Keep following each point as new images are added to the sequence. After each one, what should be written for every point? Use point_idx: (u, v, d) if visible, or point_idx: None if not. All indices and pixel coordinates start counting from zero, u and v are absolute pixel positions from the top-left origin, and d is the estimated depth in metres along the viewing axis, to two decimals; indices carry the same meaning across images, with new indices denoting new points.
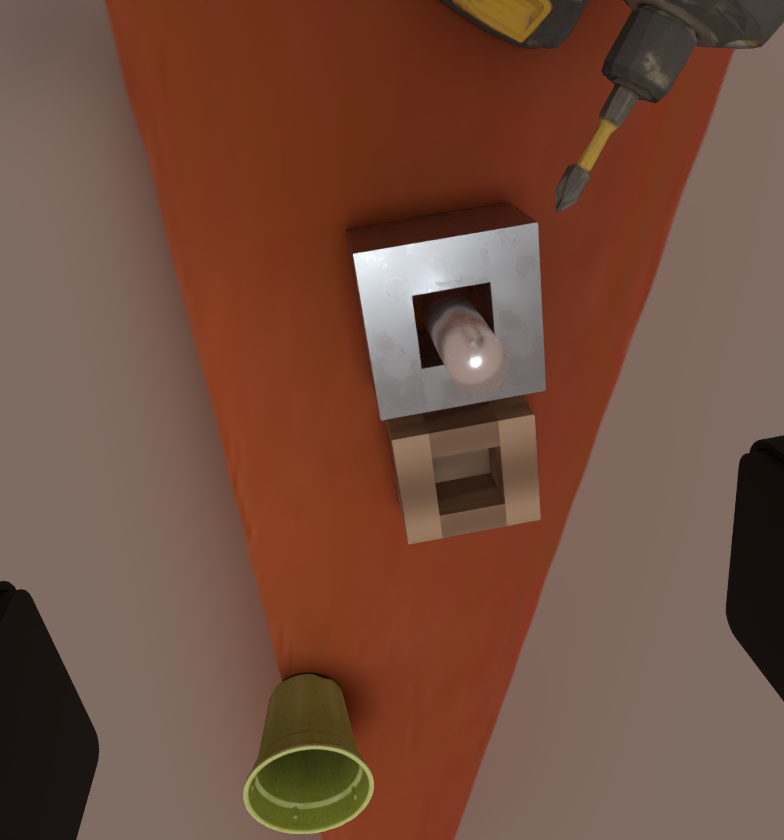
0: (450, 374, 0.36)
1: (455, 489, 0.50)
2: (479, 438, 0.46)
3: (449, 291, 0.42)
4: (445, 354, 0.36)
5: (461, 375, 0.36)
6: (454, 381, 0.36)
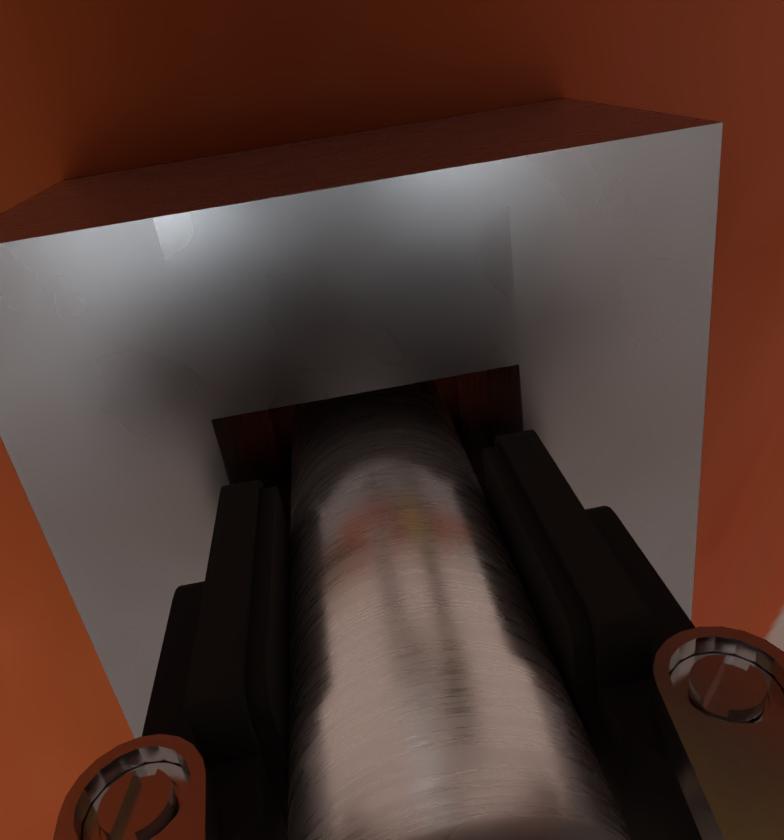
0: None
1: None
2: None
3: None
4: (288, 805, 0.07)
5: None
6: None
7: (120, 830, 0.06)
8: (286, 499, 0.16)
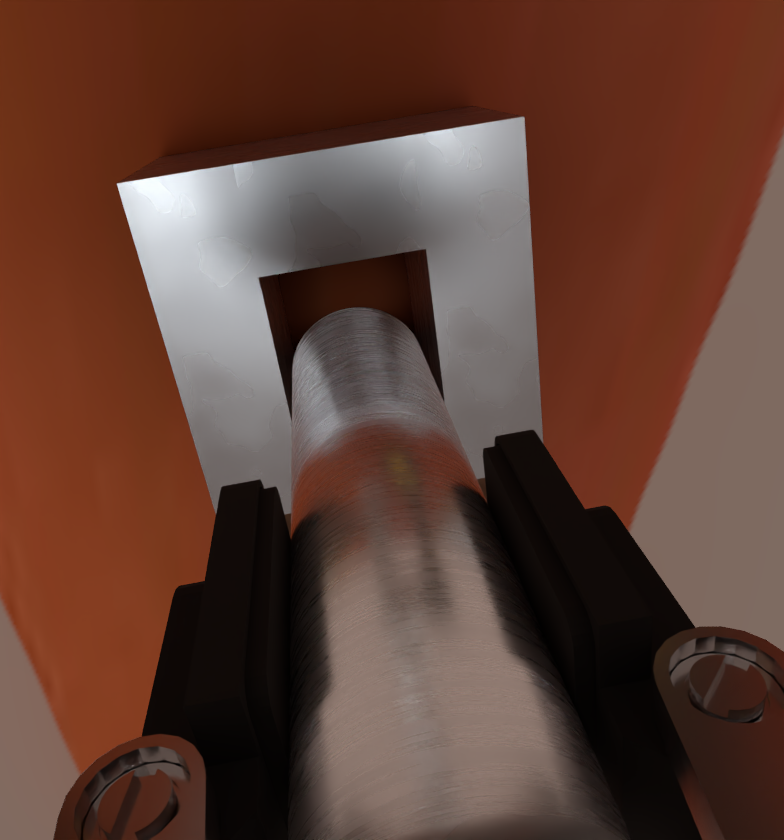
0: None
1: None
2: None
3: (373, 385, 0.12)
4: (289, 804, 0.07)
5: None
6: None
7: (120, 830, 0.06)
8: None
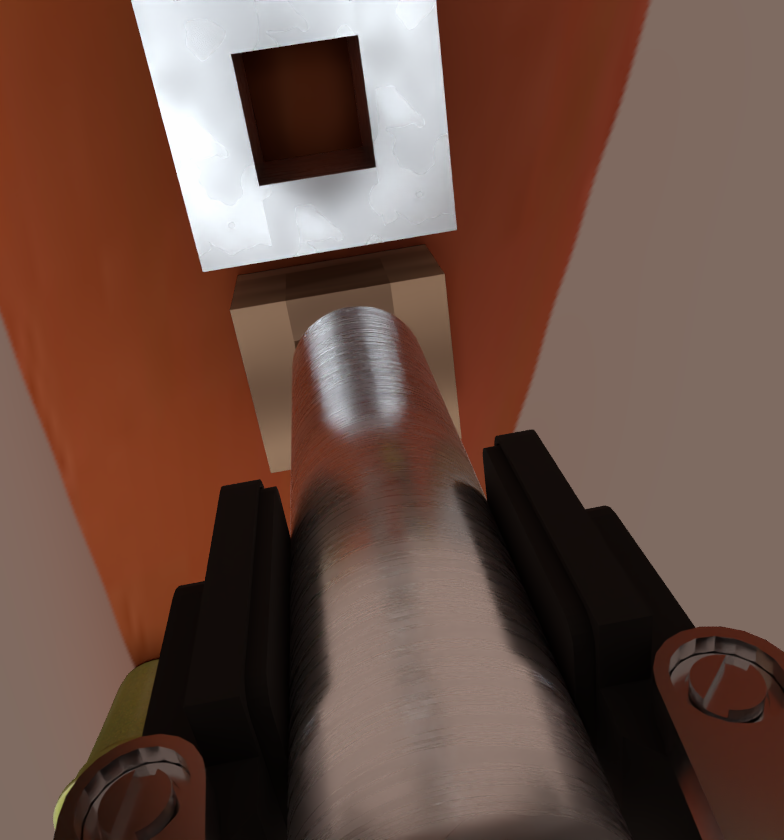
0: None
1: None
2: None
3: (373, 383, 0.12)
4: (288, 804, 0.07)
5: None
6: None
7: (120, 830, 0.06)
8: (265, 166, 0.31)
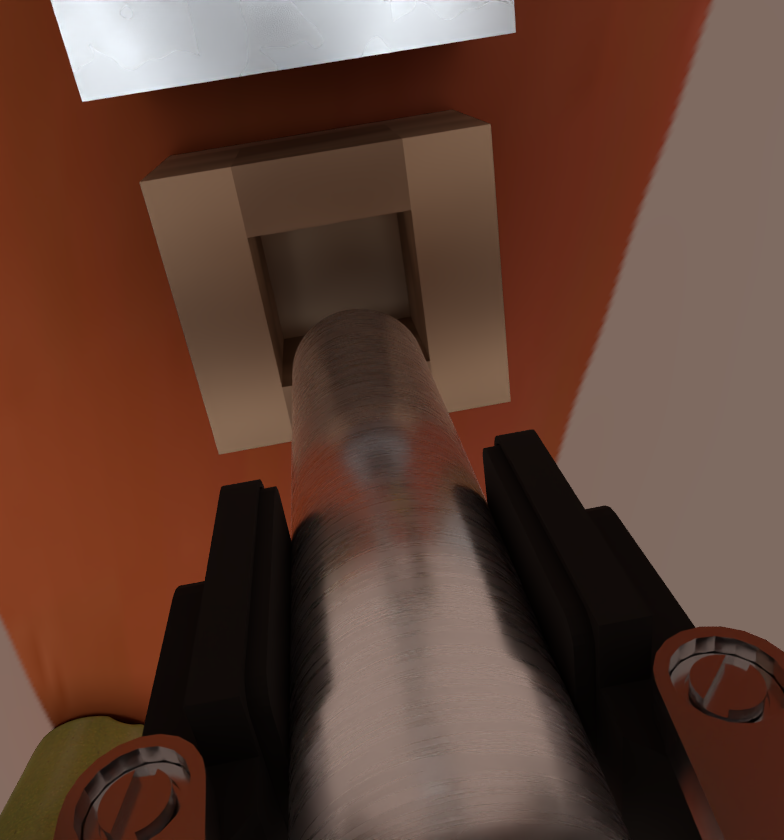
0: None
1: None
2: (358, 187, 0.19)
3: (374, 387, 0.12)
4: (289, 811, 0.07)
5: None
6: None
7: (120, 830, 0.06)
8: None
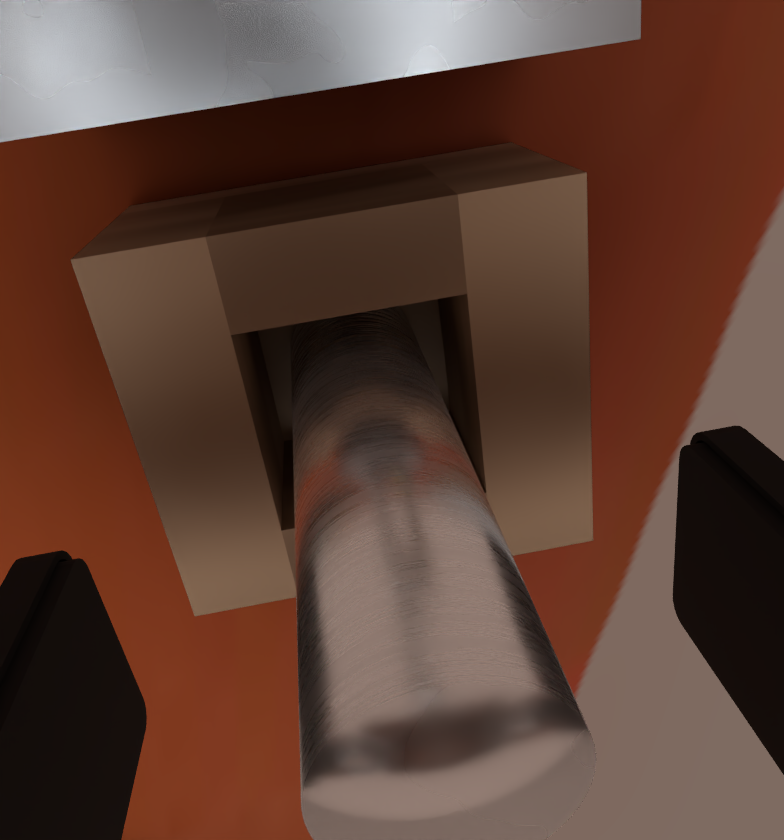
0: (312, 825, 0.07)
1: None
2: (393, 263, 0.13)
3: (367, 355, 0.13)
4: (300, 695, 0.08)
5: (365, 826, 0.07)
6: None
7: None
8: None
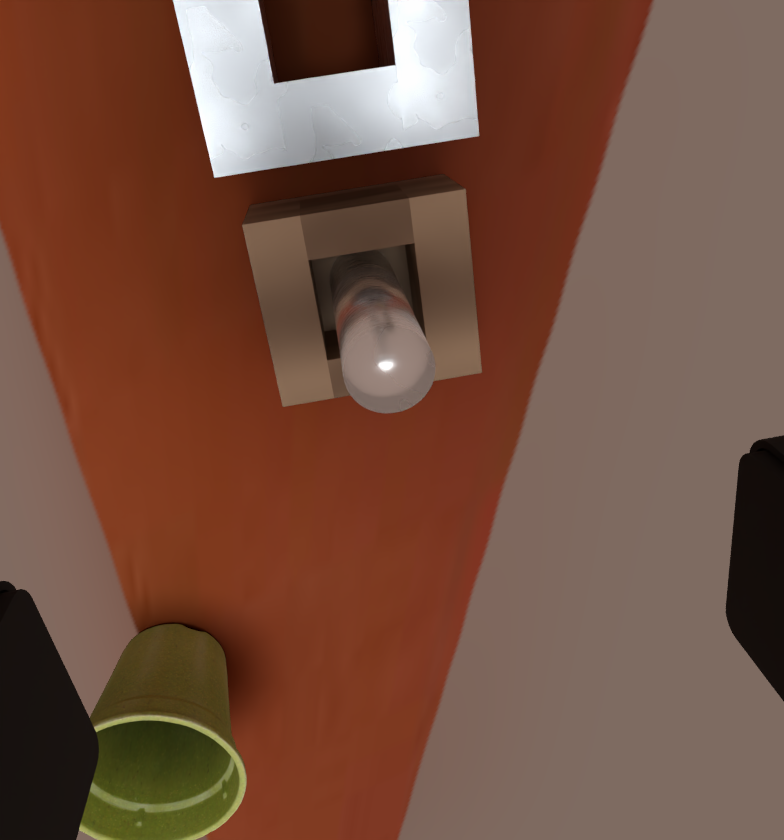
0: (345, 382, 0.23)
1: None
2: (380, 228, 0.29)
3: (367, 267, 0.30)
4: (341, 352, 0.24)
5: (362, 383, 0.24)
6: (352, 391, 0.24)
7: None
8: None
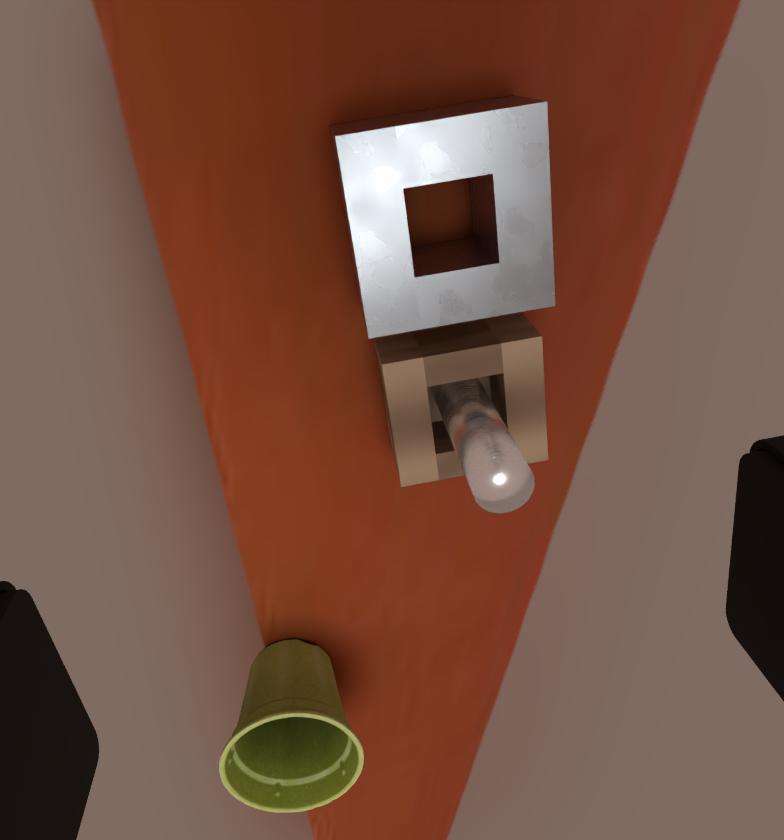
0: (474, 494, 0.35)
1: None
2: (480, 364, 0.41)
3: (469, 391, 0.41)
4: (468, 471, 0.35)
5: (485, 495, 0.35)
6: (478, 500, 0.35)
7: None
8: None
